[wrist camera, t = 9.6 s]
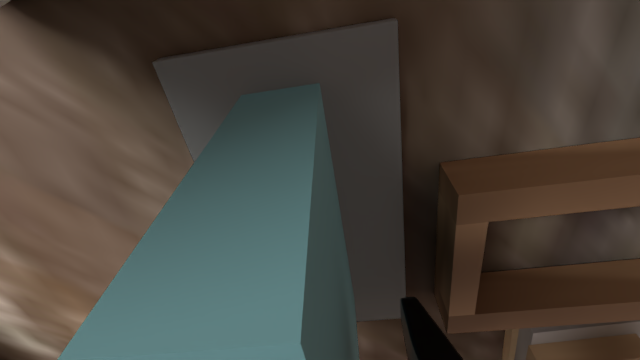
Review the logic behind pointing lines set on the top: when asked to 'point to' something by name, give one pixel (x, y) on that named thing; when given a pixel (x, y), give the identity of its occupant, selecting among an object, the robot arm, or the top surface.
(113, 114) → the top surface
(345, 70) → the charcoal mat
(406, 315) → the robot arm
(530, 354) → the offcut stack
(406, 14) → the top surface
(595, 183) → the walnut rack
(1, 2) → the photo printer
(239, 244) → the teal block
